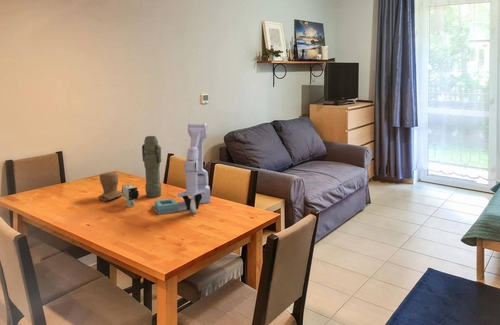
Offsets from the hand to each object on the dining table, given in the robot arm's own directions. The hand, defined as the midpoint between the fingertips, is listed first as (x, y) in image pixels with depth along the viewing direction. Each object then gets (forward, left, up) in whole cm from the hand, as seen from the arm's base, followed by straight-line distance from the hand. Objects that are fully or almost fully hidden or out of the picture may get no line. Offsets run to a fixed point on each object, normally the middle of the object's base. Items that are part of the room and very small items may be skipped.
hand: (192, 209), depth 219 cm
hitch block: (+8, -11, -2) cm, 14 cm away
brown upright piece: (+36, -45, -2) cm, 58 cm away
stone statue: (+12, -39, -2) cm, 41 cm away
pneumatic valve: (+27, -25, -2) cm, 37 cm away
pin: (0, 0, -2) cm, 2 cm away
